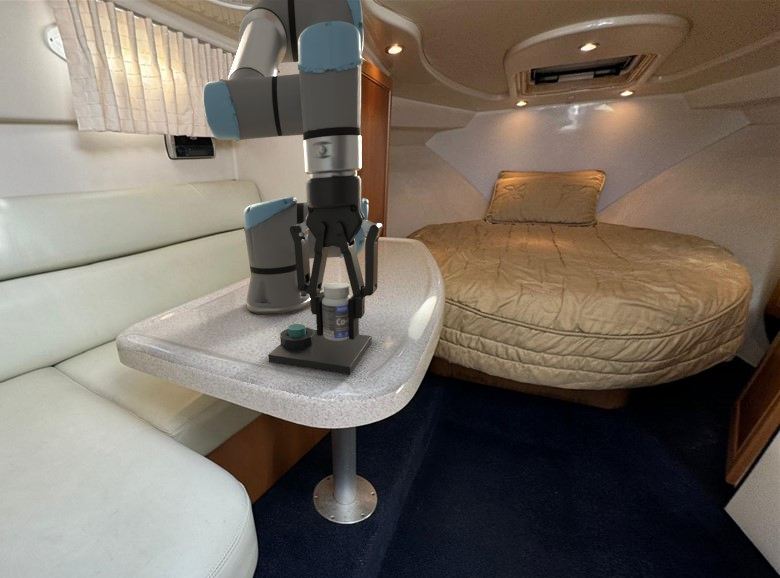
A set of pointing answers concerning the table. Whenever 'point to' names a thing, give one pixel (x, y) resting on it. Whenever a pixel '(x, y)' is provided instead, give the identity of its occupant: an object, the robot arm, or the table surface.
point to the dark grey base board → (320, 352)
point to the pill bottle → (336, 311)
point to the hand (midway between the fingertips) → (337, 334)
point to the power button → (296, 330)
